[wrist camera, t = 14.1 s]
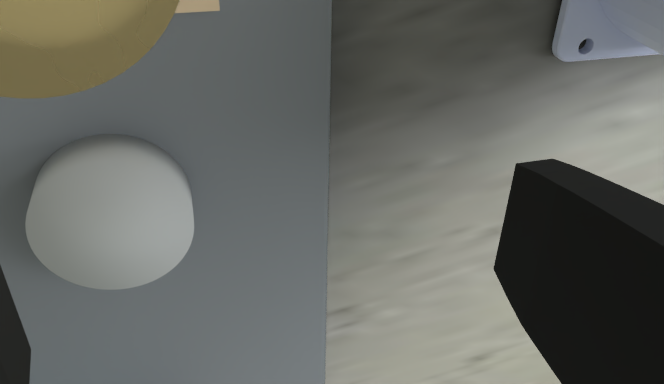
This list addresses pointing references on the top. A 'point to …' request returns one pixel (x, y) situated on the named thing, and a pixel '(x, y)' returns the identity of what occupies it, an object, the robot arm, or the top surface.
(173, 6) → the cap
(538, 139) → the top surface
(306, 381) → the post board
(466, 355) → the top surface
